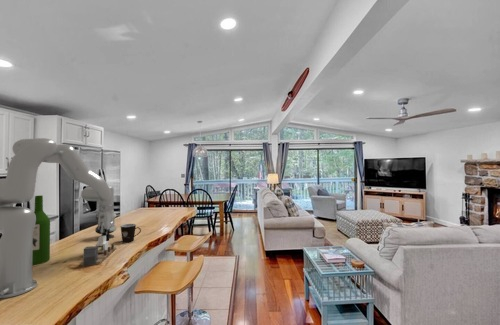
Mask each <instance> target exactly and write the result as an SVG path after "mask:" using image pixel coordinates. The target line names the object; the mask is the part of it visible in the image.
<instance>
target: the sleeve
mask: <svg viewBox="0 0 500 325" xmlns="http://www.w3.org/2000/svg"><path fill="white" fill-rule="evenodd" d="M98 237H99V236H98ZM98 237H97V238H98ZM97 240H98V241H97V243H95V246H98V248H99V247H100V246H103V248H102V249H101V250H100V251H99V252H98V253H100V252H104V250H108V247H109V243H110V240H109V241H106V236H101V235H100V237H99V238H98V239H97Z"/></svg>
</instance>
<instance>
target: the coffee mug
mask: <svg viewBox="0 0 500 325" xmlns="http://www.w3.org/2000/svg"><path fill="white" fill-rule="evenodd" d="M136 226H137V224H136V223H125V224H121V225H120V232H121V240H122V243H123V244H128V243H132V242H134V241H135V237H136V236H139V234H140V233H141V231H142V229H141V228H140V227H138V226H137V227H136ZM137 229H138V230H139V232H138V233H136V230H137ZM135 233H136V234H135Z"/></svg>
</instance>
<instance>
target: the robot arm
mask: <svg viewBox="0 0 500 325" xmlns="http://www.w3.org/2000/svg"><path fill="white" fill-rule="evenodd" d="M12 152H13V154H14V156H13V157H12V158H11V159H10V162H9V164H8V168H7V173H6V177H5V178H0V232H2V234H1V237H0V299H8V298H12V297H16V296H20V295H22V294H26V293H28V292H30V291H32V290H33V289H35V288H36V287H37V286H38V280H36V279H33V265H32V254H33V231H34V227H35V223H36V215H35V213H34V210H32V209H30V208H28V207H24V206H15V205H14V204H25V203H28V202H29V201H31V200H32V199H33V198H34V197H35V190H36V189H35V188H36V183H37V175H38V170H39V167H40V165H41V164H42V163H49V164H59V165H60V166H61V167H62V169H63V170H64V171H65V173H66V174H67V176H68V177H69V178H70V179H72V180H74V181H76V182H78V183H81V184H83V185H86V186H87V187H85V188H84V189H83V190H82V191H81V193H80V194H81V198H82V199H83V200H85V201H89V202H97V212H98V213H99V218H98V220H97V227H98V229H99V230H101V233H102V234H101V235H102V236H106V241H109V242H110V239H109V234H108V233H109V232H110V228H111V227H113V226H114V225H115V218H114V216H113V210H114V207H115V204H114V199H115V198H114V197H115V196H114V192H115V191H114V190H115V189H114V187H113V186H112V185H109V184H108V183H107V182H106V180H105V179H104V178H103V177H101V176H100V175H98V174H97V173H95V171H93V170H91V169H90V168H89V167H88V166H87V165H86V163H85V161H84V160H83V159H82V157H81V156H80V154H79V153H78V151H77V150H76V149H75V148H74V147H73V146H71V145H68V144H57V142H55V141H54V140H53V139H52V138H51V139H50V138H45V137H44V138H43V137H42V138H41V137H40V138H38V137H37V138H23V139H18V140H17V141H15V142H14V143H13V145H12Z"/></svg>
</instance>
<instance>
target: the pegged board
mask: <svg viewBox="0 0 500 325" xmlns="http://www.w3.org/2000/svg"><path fill="white" fill-rule="evenodd" d="M110 245H111V246H108V250H104V252H100V253H98V252H99V251H100V250H101V249H102V248H103V246H100V247H99V248H98V246H96V245H95V246H91V245H90V246H86V247H84V248H83V260H82V261H80V262H78V263H79V266H80V267H81V266H83V267H84V266H95V265H101V264H102V263H103V262H104V261H105V260H106V259H107V258H108V257H110V255H112V253H114V252H115V251H116V250H117V246H115V243H111V244H110Z"/></svg>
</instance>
